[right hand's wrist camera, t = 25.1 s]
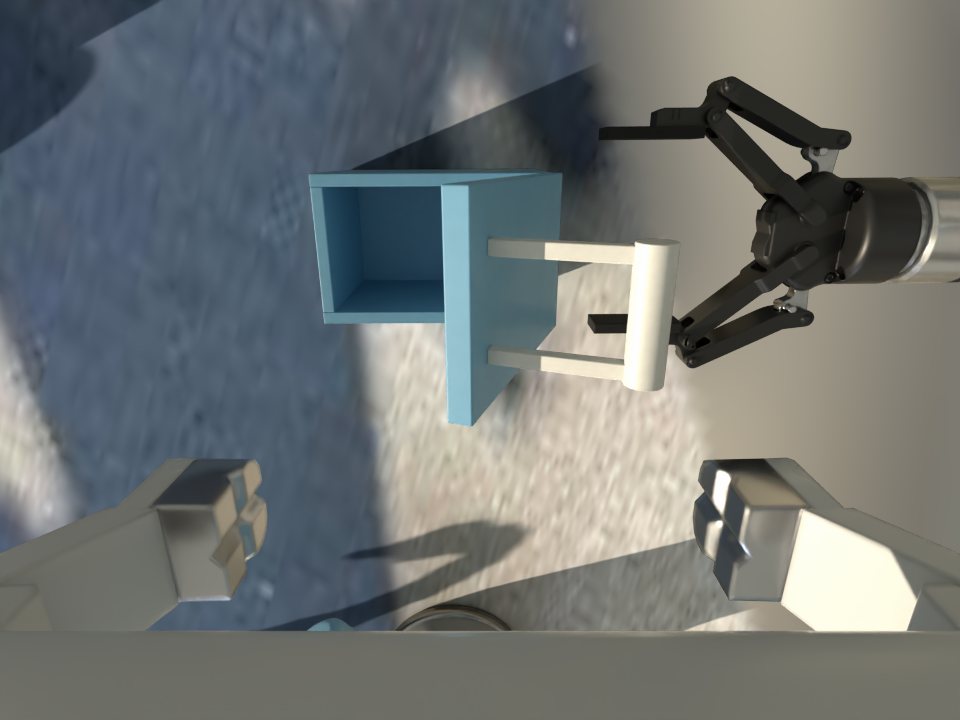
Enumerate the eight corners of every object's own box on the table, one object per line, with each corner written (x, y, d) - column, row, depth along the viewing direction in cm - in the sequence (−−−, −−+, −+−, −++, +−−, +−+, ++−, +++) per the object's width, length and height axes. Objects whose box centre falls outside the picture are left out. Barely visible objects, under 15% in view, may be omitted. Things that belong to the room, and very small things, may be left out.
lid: (446, 423, 24) (654, 457, 21) (439, 183, 20) (686, 186, 18) (538, 324, 38) (671, 337, 35) (544, 172, 34) (690, 173, 31)
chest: (358, 287, 49) (324, 323, 38) (348, 169, 45) (308, 173, 35) (531, 286, 49) (546, 322, 38) (535, 168, 45) (552, 172, 35)
